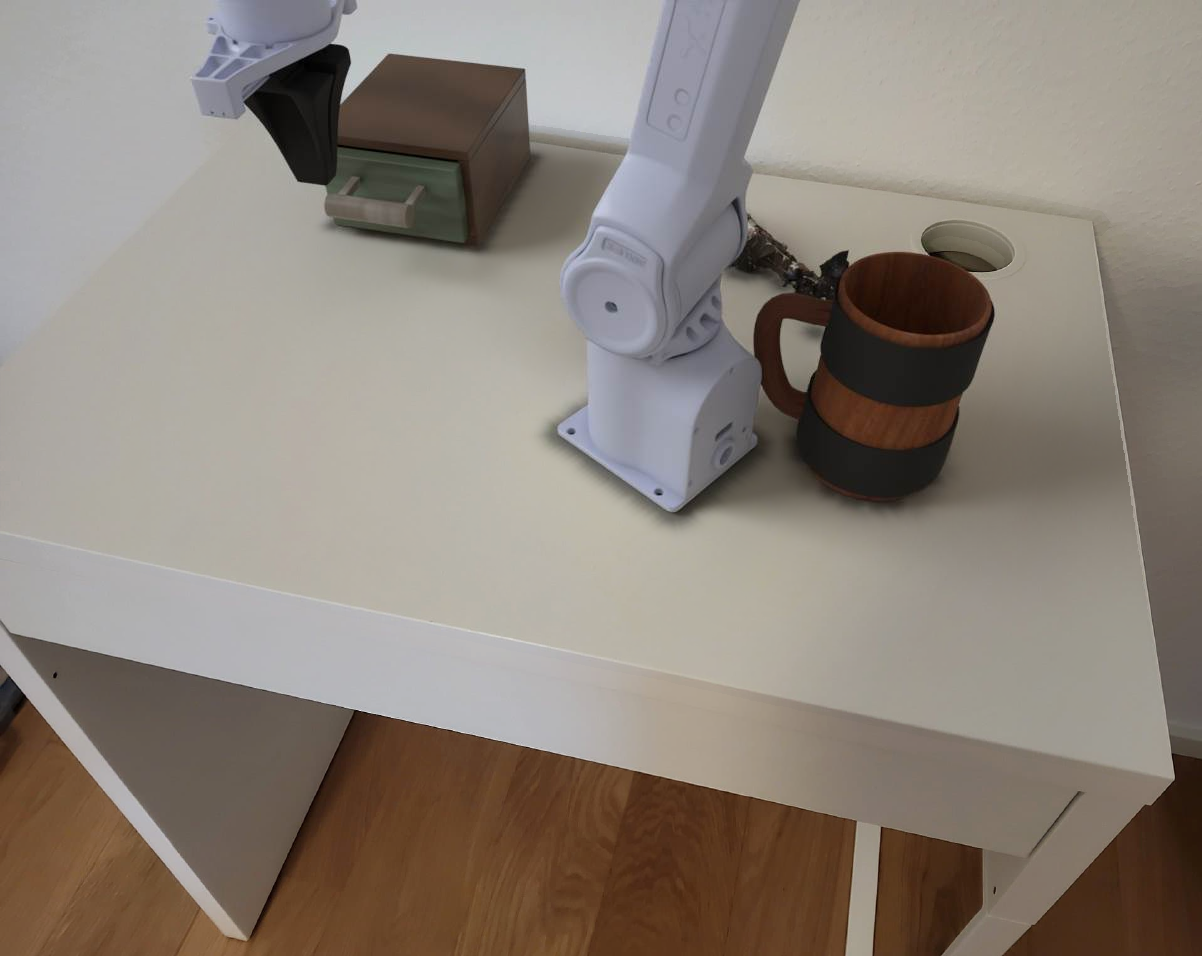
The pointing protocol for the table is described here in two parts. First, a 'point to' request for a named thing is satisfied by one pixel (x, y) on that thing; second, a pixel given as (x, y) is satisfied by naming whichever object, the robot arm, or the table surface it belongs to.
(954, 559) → the table surface
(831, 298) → the airplane wreck
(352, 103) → the cabinet
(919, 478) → the mug
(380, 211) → the drawer
